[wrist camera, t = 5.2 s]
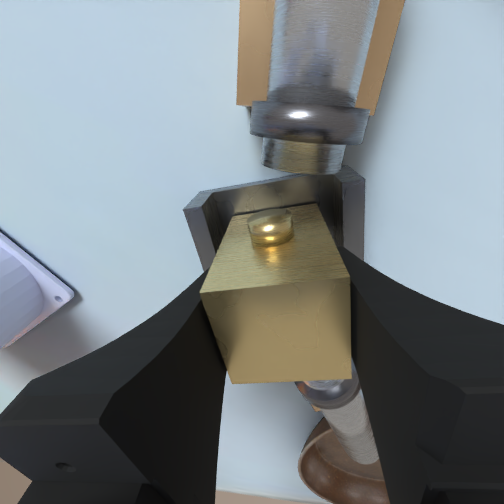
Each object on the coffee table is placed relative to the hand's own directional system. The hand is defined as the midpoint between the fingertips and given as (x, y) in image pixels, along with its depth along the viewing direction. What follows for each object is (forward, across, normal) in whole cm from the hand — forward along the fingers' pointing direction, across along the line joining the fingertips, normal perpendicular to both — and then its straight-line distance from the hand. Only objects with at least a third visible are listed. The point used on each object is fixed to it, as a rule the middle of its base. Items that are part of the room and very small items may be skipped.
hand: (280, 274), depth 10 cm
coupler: (+3, 0, 0) cm, 3 cm away
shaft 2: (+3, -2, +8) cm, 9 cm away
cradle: (+3, 0, 0) cm, 3 cm away
